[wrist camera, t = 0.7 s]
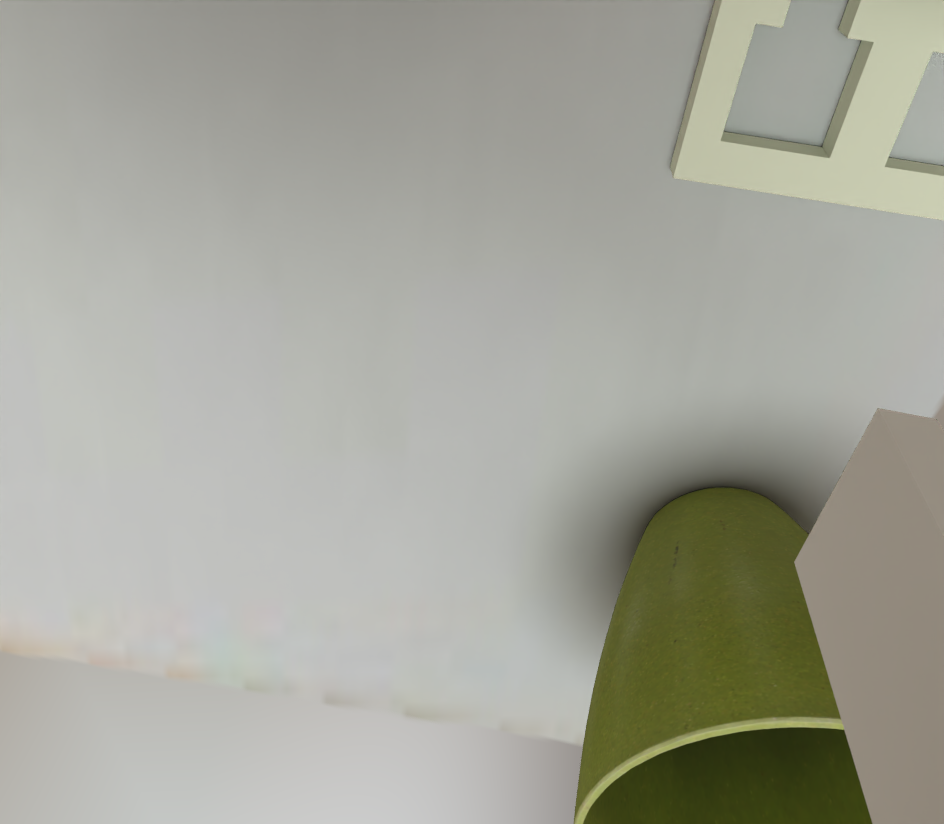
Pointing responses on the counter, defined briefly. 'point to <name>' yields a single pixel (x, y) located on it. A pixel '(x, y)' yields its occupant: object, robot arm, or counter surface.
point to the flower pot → (715, 681)
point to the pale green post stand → (852, 127)
